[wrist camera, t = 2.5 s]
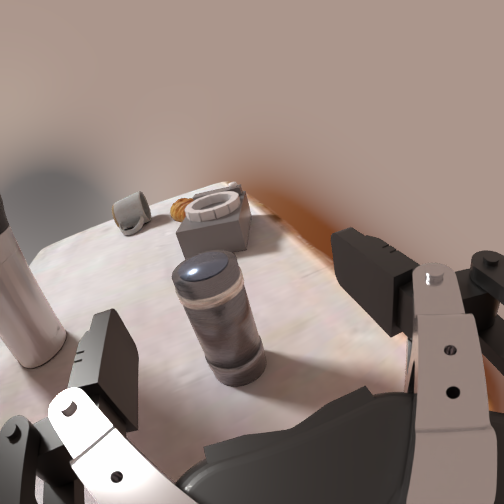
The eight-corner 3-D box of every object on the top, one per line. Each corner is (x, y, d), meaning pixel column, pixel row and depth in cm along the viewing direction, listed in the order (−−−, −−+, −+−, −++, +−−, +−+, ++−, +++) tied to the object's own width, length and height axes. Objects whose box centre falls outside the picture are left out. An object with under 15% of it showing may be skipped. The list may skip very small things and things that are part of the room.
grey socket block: (185, 260, 50) (171, 219, 47) (202, 224, 62) (191, 190, 59) (246, 249, 48) (234, 205, 45) (251, 215, 61) (242, 179, 57)
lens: (209, 388, 26) (161, 289, 21) (217, 348, 31) (179, 253, 26) (266, 384, 25) (233, 279, 20) (267, 343, 30) (240, 242, 25)
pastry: (212, 215, 67) (207, 198, 65) (184, 228, 64) (178, 211, 62) (194, 208, 74) (190, 193, 72) (169, 219, 71) (164, 204, 69)
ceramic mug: (123, 224, 76) (113, 197, 73) (152, 214, 77) (142, 187, 73) (116, 241, 67) (104, 211, 63) (149, 230, 68) (137, 199, 64)
